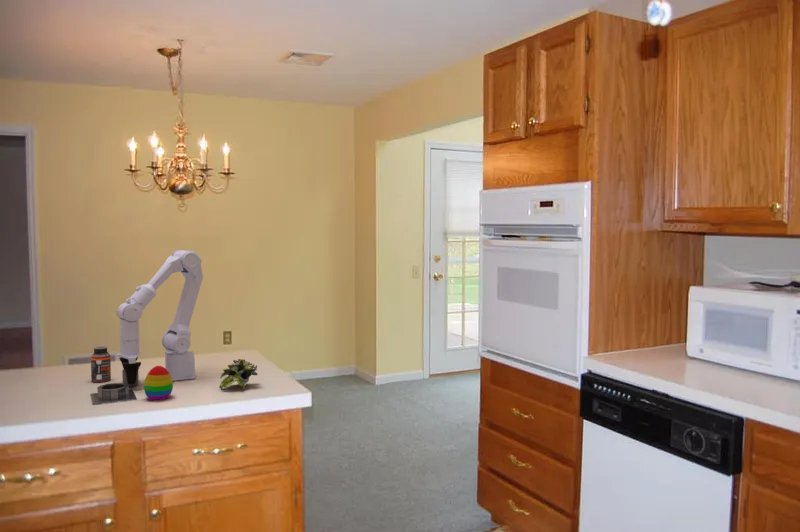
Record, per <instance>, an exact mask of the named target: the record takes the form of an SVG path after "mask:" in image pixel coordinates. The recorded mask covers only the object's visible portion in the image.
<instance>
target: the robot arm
mask: <svg viewBox="0 0 800 532" xmlns="http://www.w3.org/2000/svg"><path fill="white" fill-rule="evenodd" d="M202 261H203V260H202V259H201V257H200V255H199V254H198V253H197V252H196V251H194V250H185V249H176V250H174V251H173V252H172V254H171V255H170V256H168V257H167V258H166V260H165V261H164V263H163V264H162V265H161V267H159V269H158V270H157V272H156V273H155V274H154V276H152V278H151V279H150V280H149V281H148V282H147V283H145V284H141V285H138V286H136V287H135V291H134V293H132V295H131V296H130V297H128V298H126V300H125V302H123V303H121V304H120V305H119V306H118V308H117V310H116V312H115V313H116V316H117V317H118V318H119V348H120V349H119V352H118V353H116V355H115V356H116V357H117V358H118V359H119V361H120V362H121V366H122V370H124V369H125V372H126V377H127V382H128V384H135V383H136V378H137V373H138V374H139V369H140V367H141V366H142V362H141V361H137V360H138V358H139V356H141V352H140V328H139V327H140V325H139V321H140V320H139V319H141V318H142V315H143V311H144V310H145V309H146V307H147V306H148V305H149V304H150V303H151V302H152V301H153V300H154V298H155V297H156V295H157V289H159V288H160V286H161V285H162V284H164V282H166V281H167V280H168V278H170V277H171V276H172V275H173V274H175V273H178V272H180V273H181V274H182V276H183V277H184V278H185V280H184V284H183V287H182V291H181V294H180V297H179V301H178V305H177V307H176V311H175V314H174V318H173V321H172V323H171V324H170V325H169V326H168V328H167V330H166V332H165V333H164V334H163V336H162V338H161V344H162V346H163V348H164V349H165V350H164V353H165V354H164V358H165V359H164V362H165V363H164V365H165V366H164V368H165V369H166V370H167V371H168V372H169V373H170V375H171V378H172V382H175V381H184V380H192V379H196V373H195V372H196V366H195V365H196V364H195V363H196V362H195V354H194V352H193V351H189V349H190V348H191V334H192V333H191V330H190V324H191V320H192V318H193V317H192V316H193V314H194V310H195V306H196V303H197V300H198V296H199V292H200V289H201V285H202V282H203V279H204V278H203V277H204V273H203V270H202V269H203V268H202Z"/></svg>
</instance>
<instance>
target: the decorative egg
mask: <svg viewBox="0 0 800 532" xmlns="http://www.w3.org/2000/svg"><path fill="white" fill-rule="evenodd" d="M144 379H145V380H144V382H143V383H144V385H143V388H144V393H145V396H146V397H147V398H148V400H150V401H155V400H156V401H164V400H166V399H168V398H169V397H170V396H171V394H172V392H173V388H174V387H173V386H174V381H172V378H171V375H170V373H169V372H168V371H167V370H166V369H165V366H161V365H156V366H154V367H152V368H151V369H150V370H149V371H148V372H147V375H146V376H145V378H144Z"/></svg>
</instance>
